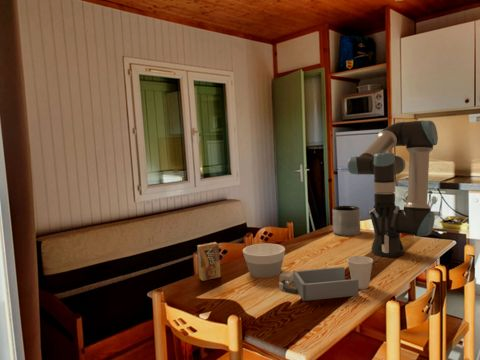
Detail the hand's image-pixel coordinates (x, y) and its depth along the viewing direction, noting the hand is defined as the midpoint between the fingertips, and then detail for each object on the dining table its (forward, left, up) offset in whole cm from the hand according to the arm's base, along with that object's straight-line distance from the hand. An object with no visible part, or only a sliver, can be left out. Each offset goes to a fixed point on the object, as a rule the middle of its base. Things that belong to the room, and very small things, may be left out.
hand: (385, 252), depth 152 cm
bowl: (+44, -26, -14) cm, 53 cm away
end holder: (+24, 0, -13) cm, 28 cm away
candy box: (+69, -25, -14) cm, 75 cm away
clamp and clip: (+38, -10, -13) cm, 42 cm away
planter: (-15, -80, -14) cm, 83 cm away
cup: (+10, 0, -14) cm, 17 cm away
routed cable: (+38, -6, -13) cm, 41 cm away
